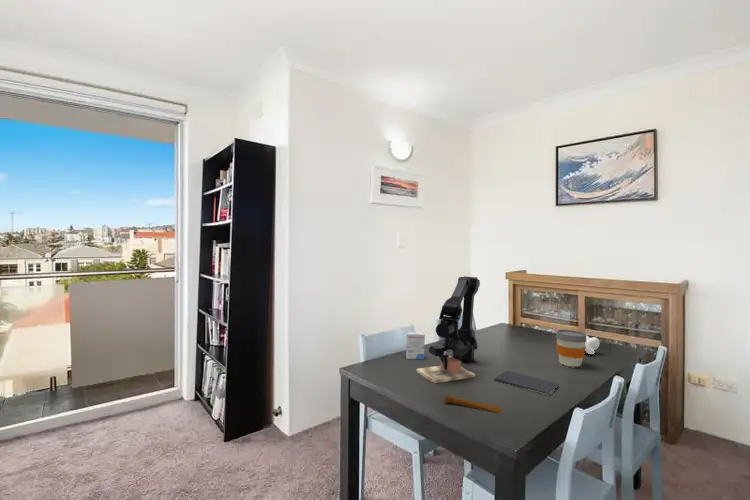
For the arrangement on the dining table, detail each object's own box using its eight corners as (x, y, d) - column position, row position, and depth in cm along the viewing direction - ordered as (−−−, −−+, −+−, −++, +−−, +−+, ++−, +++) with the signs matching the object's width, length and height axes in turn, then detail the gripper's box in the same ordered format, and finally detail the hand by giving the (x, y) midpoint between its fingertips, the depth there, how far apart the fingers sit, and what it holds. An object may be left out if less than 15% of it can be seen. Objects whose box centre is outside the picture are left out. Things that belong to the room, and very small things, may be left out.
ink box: (423, 356, 181) (424, 332, 181) (424, 359, 176) (424, 334, 176) (406, 355, 182) (406, 331, 182) (406, 358, 177) (406, 334, 177)
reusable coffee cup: (567, 370, 166) (569, 336, 165) (549, 361, 178) (550, 330, 178) (592, 369, 168) (593, 336, 168) (572, 360, 181) (573, 329, 180)
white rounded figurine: (590, 350, 198) (591, 333, 198) (605, 357, 186) (606, 339, 186) (570, 349, 198) (570, 333, 198) (583, 357, 186) (584, 339, 186)
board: (455, 366, 168) (455, 363, 168) (475, 376, 155) (475, 374, 155) (416, 371, 160) (416, 368, 160) (434, 383, 147) (434, 380, 147)
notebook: (493, 382, 151) (549, 397, 137) (494, 378, 151) (549, 393, 137) (506, 374, 161) (559, 387, 147) (506, 370, 161) (559, 383, 147)
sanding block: (449, 366, 163) (449, 355, 163) (460, 372, 156) (460, 361, 156) (440, 368, 161) (440, 356, 161) (451, 374, 154) (452, 362, 154)
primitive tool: (501, 408, 127) (501, 398, 127) (502, 415, 122) (503, 405, 122) (444, 401, 132) (444, 391, 132) (443, 407, 127) (443, 397, 127)
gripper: (443, 339, 147) (442, 378, 147) (481, 335, 154) (480, 372, 155) (428, 332, 157) (427, 369, 158) (464, 329, 165) (463, 364, 165)
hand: (450, 368), depth 159 cm, fingers closed on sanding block, 5 cm apart
